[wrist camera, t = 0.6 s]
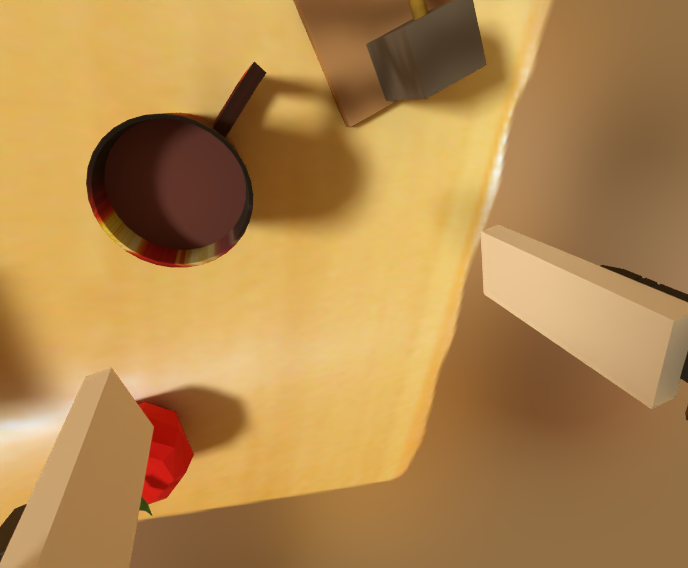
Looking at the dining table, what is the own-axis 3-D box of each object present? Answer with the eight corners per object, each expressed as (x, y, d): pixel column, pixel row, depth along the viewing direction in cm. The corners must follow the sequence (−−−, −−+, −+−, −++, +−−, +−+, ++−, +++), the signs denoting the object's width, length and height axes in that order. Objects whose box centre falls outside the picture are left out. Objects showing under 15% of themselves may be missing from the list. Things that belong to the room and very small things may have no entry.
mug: (254, 76, 33) (272, 60, 22) (236, 228, 38) (244, 273, 27) (128, 41, 29) (81, 3, 19) (126, 214, 34) (88, 260, 24)
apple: (65, 427, 41) (25, 513, 32) (149, 372, 41) (132, 442, 32) (137, 474, 46) (120, 558, 37) (211, 425, 46) (210, 498, 38)
